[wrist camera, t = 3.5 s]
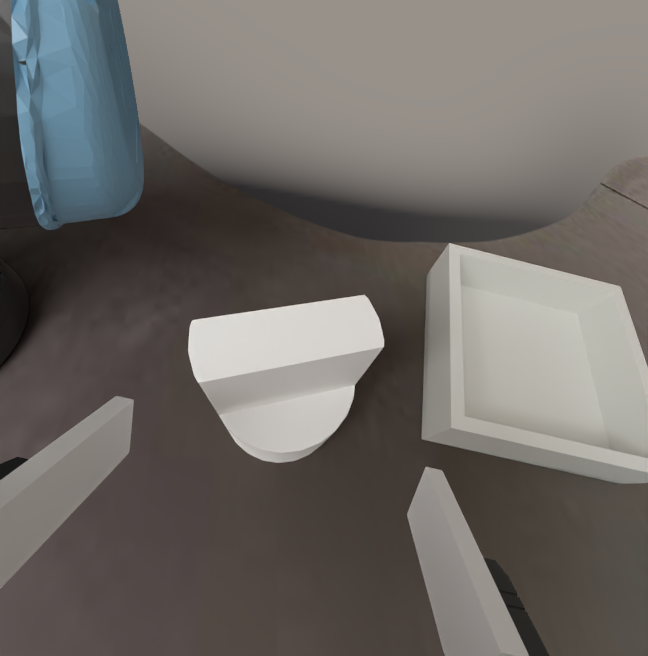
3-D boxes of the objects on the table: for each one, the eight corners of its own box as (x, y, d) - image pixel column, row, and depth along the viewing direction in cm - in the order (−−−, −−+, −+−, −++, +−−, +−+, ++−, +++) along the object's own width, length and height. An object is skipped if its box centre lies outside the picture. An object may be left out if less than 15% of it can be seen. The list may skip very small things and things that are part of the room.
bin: (421, 439, 25) (451, 427, 21) (426, 274, 34) (449, 242, 30) (619, 484, 26) (686, 481, 22) (577, 312, 34) (620, 286, 30)
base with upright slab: (322, 341, 28) (352, 249, 18) (351, 445, 25) (412, 406, 14) (216, 360, 26) (181, 268, 16) (231, 477, 22) (197, 460, 12)
